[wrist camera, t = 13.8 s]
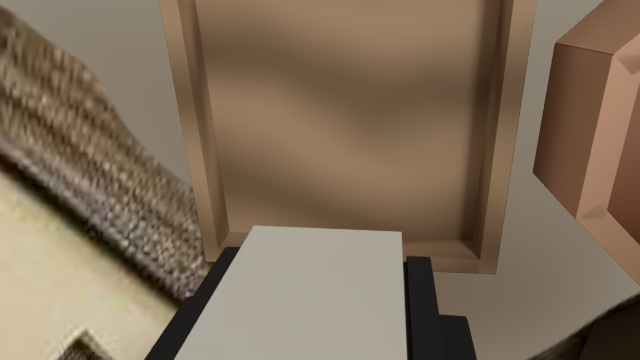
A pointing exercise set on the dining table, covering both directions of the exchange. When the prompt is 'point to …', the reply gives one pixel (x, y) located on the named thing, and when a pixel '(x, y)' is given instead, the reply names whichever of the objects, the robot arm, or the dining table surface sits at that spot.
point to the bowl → (597, 128)
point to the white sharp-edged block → (306, 299)
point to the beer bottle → (615, 337)
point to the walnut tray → (352, 118)
